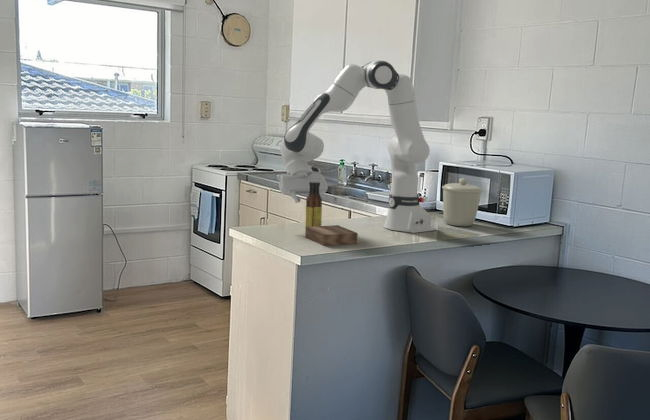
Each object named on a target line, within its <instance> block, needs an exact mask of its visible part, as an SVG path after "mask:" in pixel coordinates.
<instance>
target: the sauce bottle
mask: <svg viewBox="0 0 650 420" xmlns="http://www.w3.org/2000/svg"><path fill="white" fill-rule="evenodd" d="M309 185H310V191H309V194H307V196H306V200H305V201H306V202H305V203H306V204H305V221H304V222H305V223H304V225H305V226H304V228H305V230H306V227H310V226H322V221H323V220H322V218H323V217H322V214H323V213H322V211H323V206H322V205H323V204H322V202H323V199H322V197H321V196H322V195H321V196H320V194H319V186H320V182H317V181H311V182H309Z"/></svg>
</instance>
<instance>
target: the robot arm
mask: <svg viewBox="0 0 650 420" xmlns="http://www.w3.org/2000/svg"><path fill="white" fill-rule="evenodd" d="M365 87H367V88H369V89H374V90H384V91H385V93H386V96H387V103H388V111H389V117H390V118H389V119H390V124H391V126H392V127H393V129H394V132H395V136H393V137H392V138H390V139H389V141H388V144H387V150H388V153H389V158H390V167H391V186H390V193H389V194H388V195H389V196H388V211H387V216H386V219H385V221H384V224H383V228H385V229H387V230H393V231H396V232H405V233H411V234H415V233H424V232H432V231H436V230H437V228H436V227H435V226H434V225H432V223H431V221H432V218H431V215H430V214H429V212H428V211H426V210H425V209H424V207H422V206H421V205H420V203H424V201H425V197H419V196H418V190H419V189H418V188H419V181H420V179H419V175H418V173H417V167H416V164H417V165H418V164H421V163H423V162H425V161H426V160H427V159H428V157H429V156H430V151H431V149H430V145H429V143H427V140H426V139H425V137H424V133H423V130H422V128H421V125H420V120H419V116H418V108H417V101H416V95H415V89H414V86H413V82H412V80H411V77H409V76H408V75H407V74H403V73H402V74H401V73H398V72H397V71H396V69H395V68H394V66H393V65H392V64H391V63H389V62H387V61H385V60H373V61H370V62H368V63H366V64H364V65H363V66H359V64H354V63H349V64H347V65H346V66H344V68H342V70H340V72H339V73H338V75H337V76H336V77H335V79H334V80H333V82H332V83H331V85H330V86H329V88H328V89H326V90H325V92H323V93H321V94H319V95H317V96H316V97H315V98H314V100H313V101H312V102H311V103H310V104H309V105H308V107H306V109H305V111H304V112H303V113H302V114H301V115H300V116H299V118H298V119H297V120H296V122H294V123H293V124H292V125H291V126H290V127H289V128H288V129H287V130H286V131H285V133H284V137H283V141H281V144H280V155H281V158H282V162H283V164H284V166H285V171H286V172H284V173H282V172H279V173H278V174H276V180H277V182H278V186H279V191H280V193H281V194H282V195H290V197H291V198H292V199H293V200H294V203H295V204H297V203H300V202H301V198H300V196H297V195H309V191H310V185H309V182H311V181H317V182H320V186H319V194H320V196H322V195H324V194H326V192H327V191H328V188H329V186H328V183H327V181H326V179H325V177H324V175H322V174H321V173H322V171H321V169H320V168H319V167H315V166H312V165H310V164H308V163H310V162H312V161H314V160H316V159H317V158H319V157H320V156H322V153H323V151H324V146H325V145H324V142H323V139H321V138H320V137H319V136H317V135H316V134H314V133H311V132H310V131H311V128H312V127H313V126H314V125H315V123H317V121H318V120H319V118H320V117H322V115H323V114H326V113H329V112H330V113H331V112H334V113H340V112H341V113H342V112H345V111H346V110H348V109H349V108H350V107H351V106H352V105H353V104H354V101H356V98H357V97H358V96H359V93H360V92H361V91H362V90H363V89H364V88H365Z"/></svg>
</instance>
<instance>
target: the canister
mask: <svg viewBox="0 0 650 420" xmlns="http://www.w3.org/2000/svg"><path fill="white" fill-rule="evenodd" d="M458 181H459V182H457V183H456V182H455V183H452V182H451V183H447V184H446V183H445V184H444V185H442V186H441V188H442V209H443V210H442V212H443V213H442V215H443V216H442V217H443V221H444V223H446V224H447V225H451V226H453V227H470V226H472V225H474V223H475V221H476V217H477V213H478V210H479V205H480V200H481V196H482V193H483V192H484V190H483V189H481V187H479V186H476V185H473V184H468V179H466V178H464V177H462V178H459V180H458Z"/></svg>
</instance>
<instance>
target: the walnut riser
mask: <svg viewBox="0 0 650 420" xmlns="http://www.w3.org/2000/svg"><path fill="white" fill-rule="evenodd" d="M304 235H305V238H307V239H309V240H310V241H313V242H315V243H317V244H319V245H322V246H323V247H325V246H339V245H340V246H342V245H356V244H358V236H359V235H358V232H356V231H354V230H351V229H348V228H346V227H343V226H341V225H338V224H336V225H321V226H310V227H306V229H305V234H304Z"/></svg>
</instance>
